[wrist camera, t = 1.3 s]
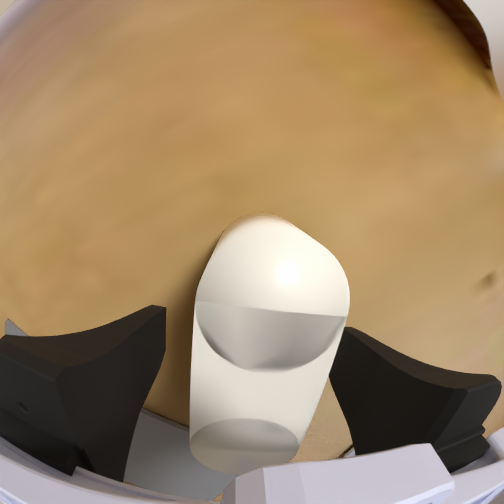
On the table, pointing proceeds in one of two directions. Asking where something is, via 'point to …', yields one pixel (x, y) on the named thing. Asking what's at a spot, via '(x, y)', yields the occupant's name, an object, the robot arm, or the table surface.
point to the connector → (262, 343)
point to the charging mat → (164, 456)
